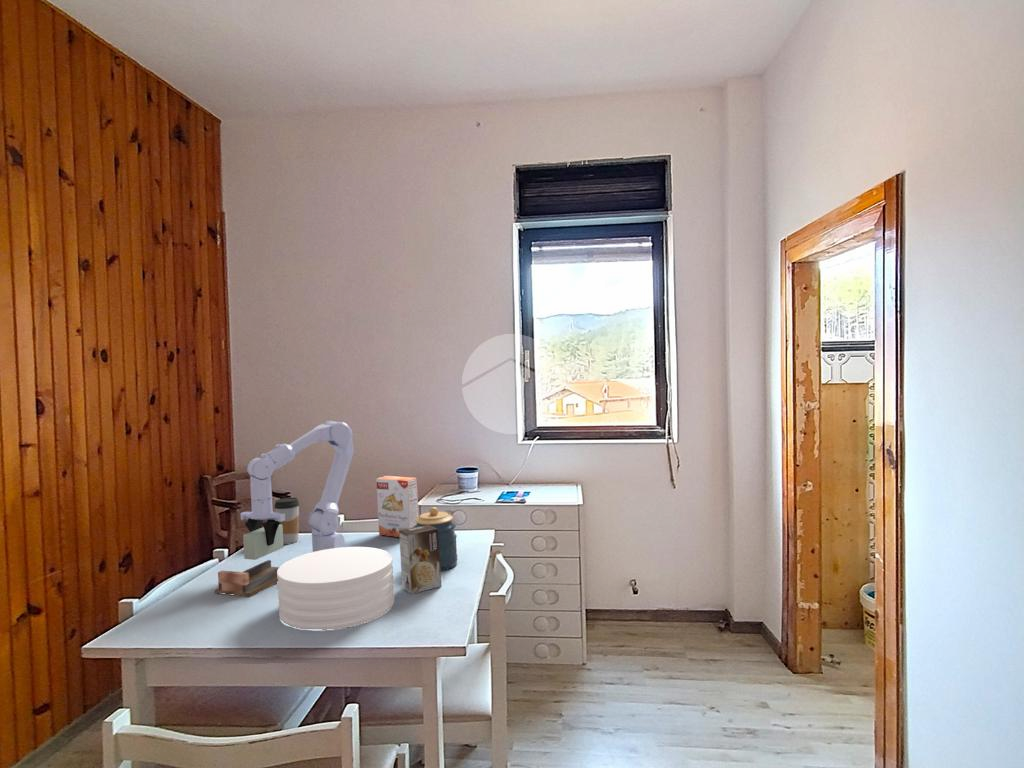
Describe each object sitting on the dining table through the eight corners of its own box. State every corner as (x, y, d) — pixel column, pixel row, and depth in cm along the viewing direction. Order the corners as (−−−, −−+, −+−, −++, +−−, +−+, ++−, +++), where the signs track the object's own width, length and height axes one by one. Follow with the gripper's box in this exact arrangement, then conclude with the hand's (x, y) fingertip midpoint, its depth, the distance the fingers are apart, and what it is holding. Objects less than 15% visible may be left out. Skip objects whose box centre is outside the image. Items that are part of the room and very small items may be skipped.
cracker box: (378, 536, 222) (375, 478, 221) (389, 531, 227) (386, 475, 227) (409, 540, 216) (407, 480, 215) (420, 535, 221) (417, 476, 220)
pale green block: (283, 547, 190) (282, 524, 189) (255, 559, 178) (254, 535, 178) (272, 546, 191) (271, 524, 191) (244, 558, 180) (243, 534, 179)
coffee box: (431, 580, 174) (429, 523, 174) (442, 586, 169) (439, 528, 168) (401, 588, 169) (398, 529, 169) (411, 595, 164) (408, 534, 163)
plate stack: (279, 598, 166) (276, 556, 165) (384, 581, 176) (382, 541, 175) (279, 641, 140) (276, 590, 139) (403, 618, 149) (401, 571, 149)
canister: (407, 571, 183) (404, 512, 182) (424, 557, 195) (421, 501, 195) (449, 573, 180) (446, 512, 179) (463, 559, 192) (461, 502, 192)
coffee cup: (296, 545, 215) (293, 502, 215) (272, 545, 215) (270, 502, 215) (304, 538, 223) (302, 496, 223) (281, 538, 224) (279, 497, 223)
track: (297, 572, 186) (296, 552, 186) (250, 596, 167) (249, 574, 167) (264, 569, 190) (263, 550, 190) (214, 593, 171) (213, 571, 171)
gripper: (231, 500, 183) (234, 546, 183) (272, 502, 178) (275, 549, 178) (249, 495, 189) (251, 539, 190) (288, 497, 185) (291, 542, 185)
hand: (264, 544), depth 184 cm, fingers closed on pale green block, 4 cm apart
